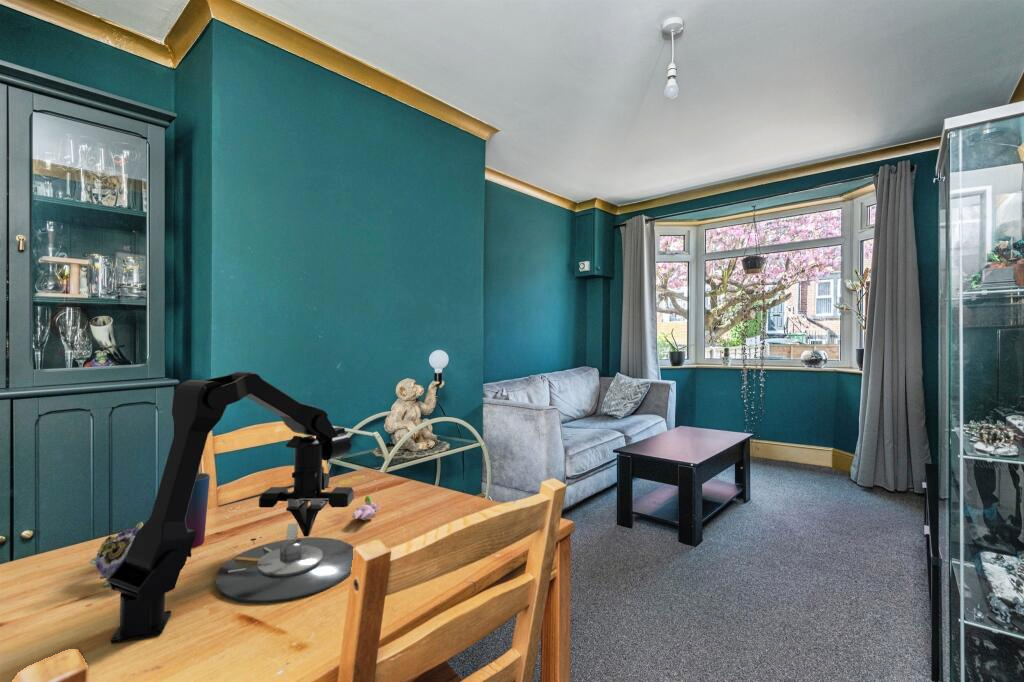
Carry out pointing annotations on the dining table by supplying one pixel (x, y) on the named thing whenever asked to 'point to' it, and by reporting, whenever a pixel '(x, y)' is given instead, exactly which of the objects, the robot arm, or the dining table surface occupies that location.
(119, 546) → the passion flower
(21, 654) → the dining table surface
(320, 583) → the dial plate
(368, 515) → the purple flower
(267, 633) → the dining table surface
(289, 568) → the dial
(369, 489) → the dining table surface
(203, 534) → the cup
